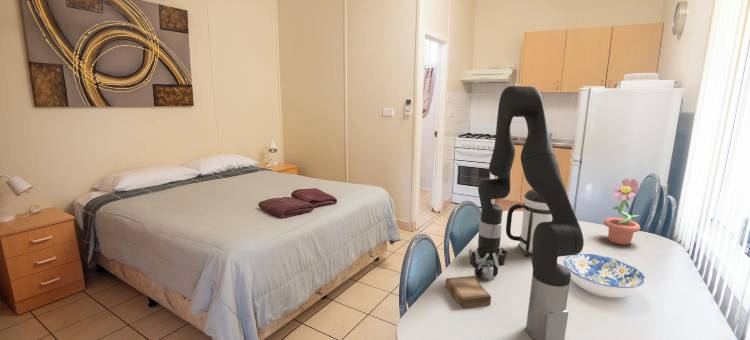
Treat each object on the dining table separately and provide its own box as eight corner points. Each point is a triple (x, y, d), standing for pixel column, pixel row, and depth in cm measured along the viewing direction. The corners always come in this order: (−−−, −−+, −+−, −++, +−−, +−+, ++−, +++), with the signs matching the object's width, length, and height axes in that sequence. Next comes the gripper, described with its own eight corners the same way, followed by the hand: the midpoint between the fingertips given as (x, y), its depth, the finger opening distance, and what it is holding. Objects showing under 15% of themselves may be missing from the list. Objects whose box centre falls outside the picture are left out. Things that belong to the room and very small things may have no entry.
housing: (495, 280, 130) (496, 267, 129) (482, 281, 129) (483, 268, 128) (488, 273, 135) (489, 260, 134) (476, 274, 134) (477, 261, 133)
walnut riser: (490, 304, 115) (491, 296, 114) (461, 307, 113) (461, 298, 112) (472, 283, 127) (472, 275, 127) (445, 286, 125) (446, 278, 125)
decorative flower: (592, 235, 173) (602, 175, 167) (616, 234, 176) (627, 174, 170) (618, 249, 159) (630, 183, 153) (644, 247, 162) (657, 182, 155)
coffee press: (527, 241, 165) (534, 178, 159) (560, 255, 152) (570, 186, 145) (502, 249, 156) (509, 183, 149) (536, 264, 143) (545, 192, 136)
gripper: (475, 238, 123) (472, 283, 127) (513, 236, 126) (509, 280, 130) (466, 230, 131) (463, 272, 134) (502, 228, 133) (498, 270, 137)
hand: (485, 276), depth 132 cm, fingers open, 5 cm apart
